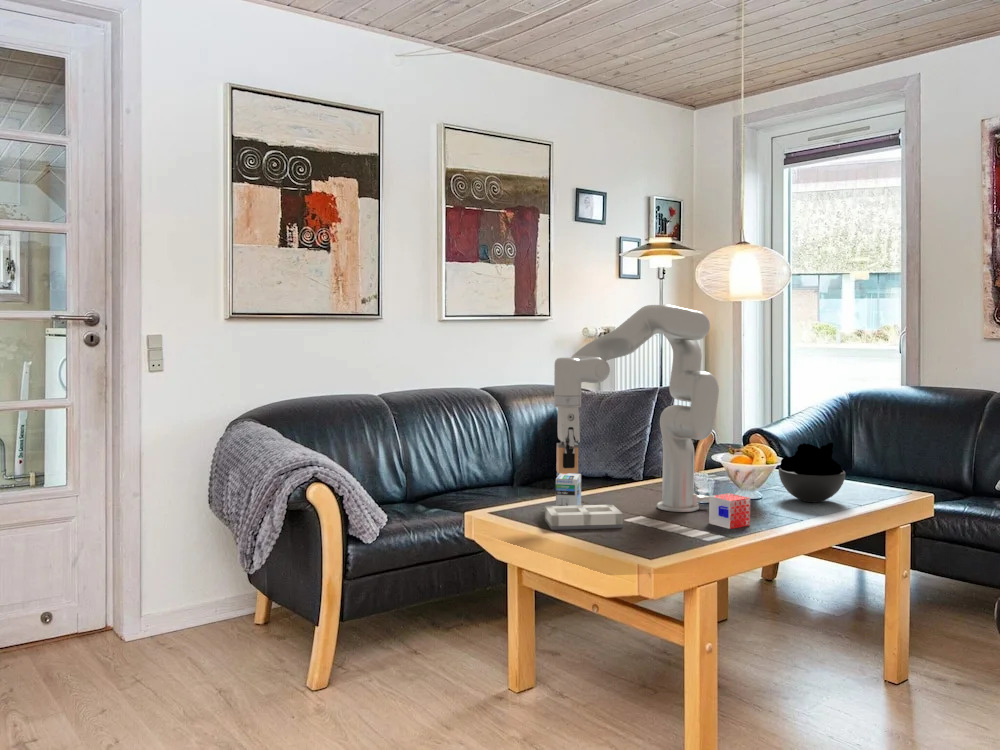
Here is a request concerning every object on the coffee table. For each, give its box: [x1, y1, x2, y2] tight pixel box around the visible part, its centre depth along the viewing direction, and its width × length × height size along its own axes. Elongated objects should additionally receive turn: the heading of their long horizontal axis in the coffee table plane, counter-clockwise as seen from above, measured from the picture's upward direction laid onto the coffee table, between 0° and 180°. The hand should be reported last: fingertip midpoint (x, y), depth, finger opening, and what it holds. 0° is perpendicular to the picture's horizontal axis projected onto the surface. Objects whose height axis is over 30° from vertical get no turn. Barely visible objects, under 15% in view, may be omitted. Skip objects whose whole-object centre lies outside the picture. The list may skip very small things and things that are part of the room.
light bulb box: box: [555, 473, 582, 506], centre depth 264 cm, size 11×7×11 cm, turn 168°
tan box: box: [555, 442, 579, 474], centre depth 245 cm, size 6×4×8 cm
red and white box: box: [708, 492, 751, 530], centre depth 246 cm, size 8×8×8 cm
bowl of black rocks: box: [778, 442, 846, 503], centre depth 276 cm, size 20×20×19 cm
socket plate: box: [544, 504, 624, 531], centre depth 247 cm, size 20×12×4 cm, turn 96°
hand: (567, 465), depth 246 cm, fingers closed on tan box, 4 cm apart
